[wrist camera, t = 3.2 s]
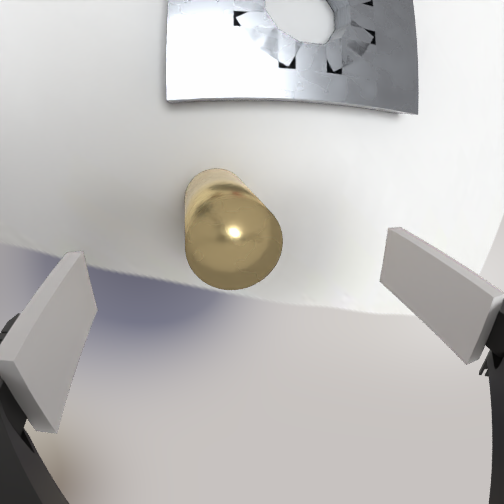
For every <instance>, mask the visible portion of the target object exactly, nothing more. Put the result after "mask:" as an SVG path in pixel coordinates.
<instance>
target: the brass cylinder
mask: <svg viewBox="0 0 504 504" xmlns="http://www.w3.org/2000/svg"><path fill="white" fill-rule="evenodd" d="M282 244H283V238H282V231H281V228H280V225H279V223H278V221H277V219H276V218H275V217H274V215H273V214H272V213H271V212H270V211H269V210H268V209H267V208H266V206H265V205H264V204H263V203H262V202H261V201H260V200H259V199H258V198H257V197H256V196H255V195H254V194H253V193H252V192H251V191H250V189H249V188H248V187H247V186H246V185H245V184H244V183H243V182H242V181H241V180H240V179H239V178H238V177H237V176H236V175H235V174H233V173H232V172H230V171H227V170H224V169H209V170H206V171H203V172H201V173H199V174H198V175H197V176H195V177H194V178H193V179H192V181H191V182H190V183H189V185H188V187H187V189H186V193H185V252H186V257H187V260H188V263H189V265H190V267H191V269H192V270H193V272H194V273H195V274H196V275H197V277H198V278H200V279H201V280H202V281H203V282H205V283H207V284H208V285H210V286H213V287H216V288H219V289H224V290H238V289H243V288H247V287H250V286H252V285H254V284H256V283H258V282H260V281H261V280H262V279H264V278H265V277H266V276H267V275H268V274H269V273H270V272H271V271H272V270H273V268H274V267H275V266H276V264H277V262H278V260H279V258H280V255H281V251H282Z"/></svg>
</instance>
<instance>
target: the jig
mask: <svg viewBox="0 0 504 504" xmlns="http://www.w3.org/2000/svg"><path fill="white" fill-rule="evenodd" d="M327 1H328V3H329V5H330V6H331V8H332V9H333V11H334V16H335V31H334V32H333V34H332V36H331V37H330V39H329V40H328V42H327V43H325V44H323V45H322V44H315V43H307V42H299V41H298V40H296V39H295V38H293V37H291V36H290V35H288V34H286V33H285V32H283V31H282V30H280V29H278V28H277V26H276V24H275V23H274V21H273V20H272V18H271V17H270V15H269V14H268V12H267V11H266V9H265V0H168V19H167V55H166V95H167V101H168V103H175V102H190V101H213V100H273V101H295V102H311V103H323V104H334V105H343V106H352V107H360V108H367V109H375V110H381V111H387V112H394V113H400V114H415V115H418V55H417V38H416V26H415V15H414V6H413V0H327Z"/></svg>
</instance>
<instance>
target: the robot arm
mask: <svg viewBox="0 0 504 504" xmlns="http://www.w3.org/2000/svg"><path fill="white" fill-rule="evenodd" d="M380 282H381V283H382V284H383V285H384V286H385V287H386V288H387V289H388V290H389V291H391V292H392V293H393V294H394V295H395V296H396V297H397V298H398V299H399V300H400V301H401V302H402V303H404V304H405V305H406V306H407V307H408V308H409V309H410V310H411V311H412V312H413V313H414V314H415V315H416V316H417V317H418V318H419V319H421V320H422V321H423V322H424V323H425V324H426V325H427V326H428V327H429V328H430V329H431V330H432V331H433V332H434V333H435V334H436V335H437V336H438V337H439V338H440V339H441V340H442V341H443V342H444V343H445V344H446V345H447V346H448V347H449V348H450V349H451V350H452V351H453V352H454V353H455V354H456V355H457V356H458V357H459V358H460V359H461V360H462V361H463V362H464V363H465V364H466V365H467V364H469V363H472V362H474V361H476V360H478V359H479V358H480V356H481V353H482V351H483V349H484V346H485V345H486V346H487V347H488V348H489V349H490V351H489V353H488V355H487V357H486V359H485V361H484V363H483V365H482V367H481V369H480V371H479V375H482V373H483V371H484V369H488V370H487V372H486V374H485V376H489V383H490V394H491V407H492V437H493V438H492V439H493V441H492V443H493V444H492V445H493V447H492V450H493V451H492V474H491V488H490V498H489V504H504V292H503V291H501V290H499V289H498V288H497V287H495V286H494V285H492V284H491V283H490V282H488V281H487V280H485V279H484V278H482V277H481V276H479V275H478V274H476V273H475V272H473V271H472V270H470V269H469V268H467V267H466V266H464V265H462V264H461V263H459V262H458V261H456V260H455V259H453V258H451V257H450V256H448V255H447V254H445V253H443V252H442V251H440V250H439V249H437V248H435V247H434V246H432V245H430V244H429V243H427V242H425V241H424V240H422V239H420V238H419V237H417V236H415V235H413V234H412V233H410V232H408V231H407V230H405V229H403V228H401V227H395V228H388V232H387V239H386V246H385V252H384V259H383V265H382V270H381V276H380ZM97 310H98V309H97V306H96V302H95V298H94V294H93V290H92V286H91V283H90V278H89V274H88V270H87V265H86V261H85V256H84V251H75V252H67V253H66V254H65V255H64V257H63V258H62V259H61V260H60V262H59V263H58V264H57V265H56V267H55V268H54V269H53V271H52V272H51V273H50V274H49V275H48V277H47V278H46V280H45V281H44V282H43V283H42V285H41V286H40V287H39V289H38V290H37V291H36V293H35V294H34V295H33V297H32V298H31V300H30V301H29V302H28V304H27V305H26V307H25V308H24V309H23V311H22V312H21V313H20V314H17V315H16V316H14V317H13V318H12V319H11V320H9V321H8V322H7V324H6V325H5V327H4V328H3V330H2V331H1V333H0V504H69V503H68V501H67V500H66V498H65V497H64V495H63V494H62V493H61V491H60V489H59V488H58V486H57V485H56V483H55V481H54V480H53V478H52V477H51V475H50V473H49V472H48V470H47V468H46V466H45V465H44V463H43V461H42V459H41V458H40V456H39V454H38V452H37V450H36V448H35V446H34V444H33V443H32V441H31V439H30V437H29V435H28V433H27V432H26V431H25V429H24V425H25V422H26V419H28V421H29V422H30V423H31V425H32V426H33V428H34V429H35V430H36V431H41V432H48V433H57V432H58V429H59V425H60V421H61V417H62V413H63V410H64V406H65V403H66V400H67V396H68V393H69V390H70V386H71V383H72V380H73V377H74V373H75V371H76V368H77V365H78V362H79V359H80V356H81V353H82V350H83V347H84V345H85V342H86V339H87V336H88V334H89V331H90V328H91V325H92V323H93V320H94V318H95V315H96V312H97Z"/></svg>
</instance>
